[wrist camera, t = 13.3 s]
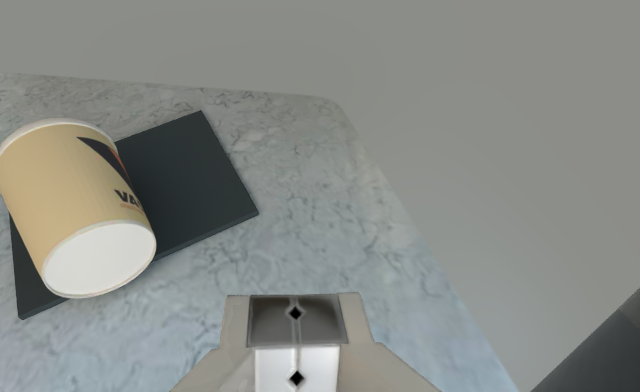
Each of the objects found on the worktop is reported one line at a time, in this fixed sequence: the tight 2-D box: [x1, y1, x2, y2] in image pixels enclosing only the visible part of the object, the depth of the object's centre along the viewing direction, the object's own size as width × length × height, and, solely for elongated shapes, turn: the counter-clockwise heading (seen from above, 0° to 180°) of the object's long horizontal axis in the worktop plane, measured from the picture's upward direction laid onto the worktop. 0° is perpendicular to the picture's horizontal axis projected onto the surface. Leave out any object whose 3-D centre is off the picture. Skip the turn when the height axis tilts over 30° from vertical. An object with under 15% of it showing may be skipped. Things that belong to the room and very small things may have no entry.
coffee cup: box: [0, 117, 156, 298], centre depth 35 cm, size 9×9×12 cm
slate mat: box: [9, 110, 258, 320], centre depth 41 cm, size 20×16×1 cm
